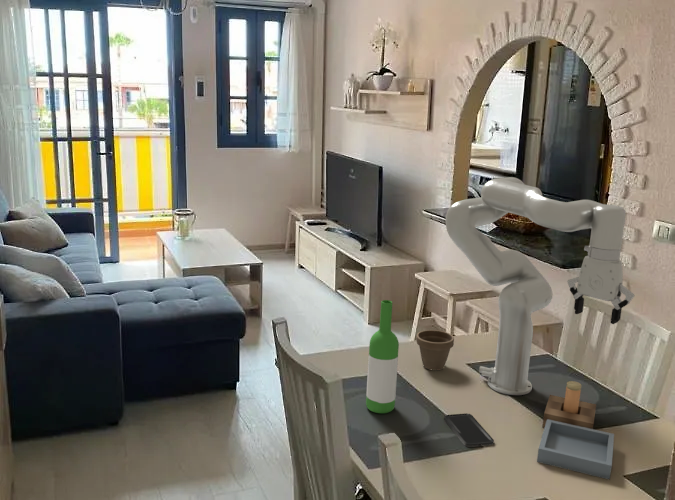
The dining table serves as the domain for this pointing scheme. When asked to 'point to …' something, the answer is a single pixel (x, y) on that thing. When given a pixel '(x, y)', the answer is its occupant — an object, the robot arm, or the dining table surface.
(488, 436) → the phone
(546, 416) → the pin block
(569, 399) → the peg
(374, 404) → the wine bottle
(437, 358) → the flower pot
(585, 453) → the tray
